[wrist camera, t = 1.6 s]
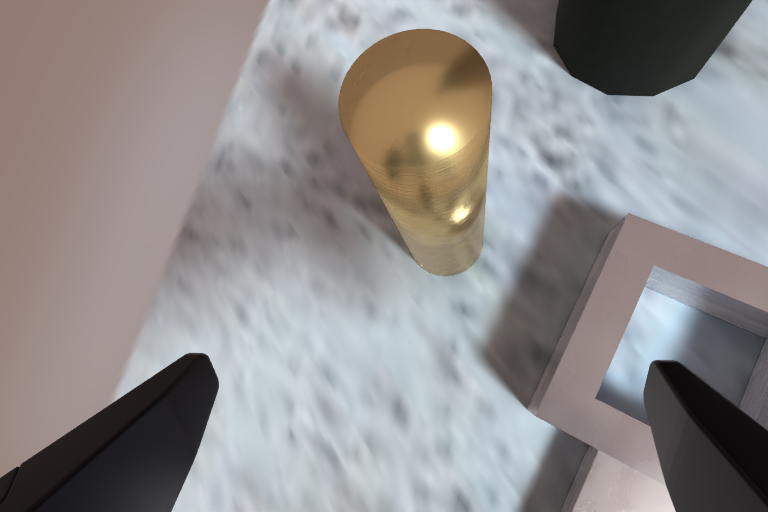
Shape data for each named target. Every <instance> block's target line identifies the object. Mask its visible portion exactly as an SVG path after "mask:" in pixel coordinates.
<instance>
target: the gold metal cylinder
mask: <svg viewBox="0 0 768 512" xmlns="http://www.w3.org/2000/svg"><path fill="white" fill-rule="evenodd" d="M338 106H339V116H340V120H341V124H342V127H343V129H344V131H345V133H346V135H347V137H348V139H349V141H350V142H351V144H352V146H353V148H354V150H355V152H356V153H357V155H358V157H359V159H360V161H361V162H362V164H363V166H364V168H365V170H366V172H367V173H368V175H369V177H370V179H371V181H372V182H373V184H374V186H375V188H376V190H377V192H378V193H379V195H380V197H381V199H382V201H383V203H384V204H385V206H386V208H387V210H388V212H389V213H390V215H391V217H392V219H393V221H394V223H395V224H396V226H397V228H398V230H399V232H400V234H401V235H402V237H403V239H404V241H405V243H406V244H407V246H408V248H409V250H410V252H411V254H412V255H413V257H414V259H415V261H416V262H417V263H418V264H419V265H420V266H421V267H422V268H423V269H424V270H426V271H428V272H429V273H432V274H435V275H439V276H452V275H457V274H460V273H462V272H464V271H466V270H467V269H469V268H470V267H471V266H472V265H473V264H474V263H475V262H476V261H477V259H478V257H479V256H480V253H481V251H482V247H483V237H484V221H485V204H486V188H487V171H488V155H489V139H490V122H491V106H492V82H491V76H490V73H489V70H488V67H487V65H486V63H485V61H484V60H483V58H482V57H481V55H480V54H479V53H478V52H477V51H476V50H475V49H474V48H473V47H472V46H471V45H470V44H469V43H467V42H466V41H465V40H463V39H461V38H459V37H457V36H455V35H453V34H450V33H448V32H444V31H440V30H433V29H414V30H407V31H403V32H399V33H396V34H393V35H390V36H388V37H386V38H384V39H382V40H380V41H378V42H377V43H375V44H373V45H372V46H371V47H369V48H368V49H367V50H366V51H364V52H363V53H362V54H361V55H360V56H359V57H358V58H357V60H356V61H355V62H354V63H353V65H352V66H351V68H350V69H349V71H348V72H347V74H346V76H345V78H344V81H343V83H342V86H341V90H340V95H339V105H338Z"/></svg>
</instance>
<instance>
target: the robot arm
mask: <svg viewBox="0 0 768 512" xmlns="http://www.w3.org/2000/svg"><path fill="white" fill-rule="evenodd" d="M218 388H219V381H218V377H217V375H216V373H215V370H214V368H213V366H212V363H211V361H210V359H209V357H208V356H207V355H206V354H204V353H188V354H186V355H184V356H182V357H181V358H179V359H178V360H176V361H175V362H173V363H172V364H170V365H169V366H167V367H166V368H165V369H163V370H162V371H160V372H159V373H157V374H156V375H154V376H153V377H151V378H150V379H148V380H146V381H145V382H143V383H142V384H140V385H139V386H137V387H136V388H134V389H133V390H131V391H130V392H128V393H127V394H125V395H124V396H122V397H121V398H119V399H118V400H116V401H115V402H113V403H112V404H110V405H109V406H107V407H106V408H104V409H103V410H102V411H100V412H98V413H97V414H96V415H94V416H92V417H91V418H89V419H88V420H86V421H85V422H83V423H82V424H80V425H79V426H77V427H76V428H74V429H73V430H71V431H70V432H68V433H67V434H66V435H64V436H63V437H61V438H60V439H58V440H56V441H55V442H53V443H52V444H51V445H49V446H47V447H46V448H44V449H43V450H42V451H40V452H39V453H37V454H35V455H34V456H32V457H31V458H29V459H28V460H27V461H25V462H23V463H22V464H21V466H20V467H16V468H14V469H13V470H11V471H10V472H8V473H7V474H5V475H4V476H2V477H1V478H0V512H171V511H172V509H173V507H174V504H175V502H176V500H177V498H178V495H179V493H180V491H181V489H182V486H183V484H184V482H185V480H186V477H187V475H188V473H189V471H190V469H191V466H192V464H193V462H194V459H195V457H196V454H197V452H198V449H199V446H200V443H201V440H202V437H203V434H204V431H205V428H206V425H207V422H208V419H209V416H210V413H211V410H212V407H213V404H214V401H215V398H216V395H217V392H218ZM644 404H645V408H646V412H647V416H648V420H649V423H650V427H651V431H652V435H653V439H654V443H655V447H656V451H657V454H658V458H659V462H660V466H661V470H662V473H663V477H664V480H665V484H666V487H667V490H668V492H669V495H670V498H671V501H672V503H673V506H674V508H675V511H676V512H768V430H767V429H766V428H764V427H763V426H762V425H761V424H759V423H758V422H757V421H755V420H754V419H753V418H752V417H750V416H749V415H748V414H746V413H745V412H744V411H742V410H741V409H740V408H739V407H737V406H736V405H735V404H733V403H732V402H731V401H729V400H728V399H727V398H726V397H724V396H723V395H722V394H720V393H719V392H718V391H717V390H715V389H714V388H713V387H711V386H710V385H709V384H707V383H706V382H705V381H704V380H702V379H701V378H700V377H698V376H697V375H696V374H694V373H693V372H692V371H691V370H689V369H688V368H687V367H685V366H684V365H683V364H681V363H680V362H678V361H674V360H655V361H653V362H652V363H651V364H650V367H649V371H648V375H647V379H646V384H645V388H644Z"/></svg>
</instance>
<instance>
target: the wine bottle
mask: <svg viewBox="0 0 768 512" xmlns="http://www.w3.org/2000/svg"><path fill="white" fill-rule="evenodd" d="M751 2H752V0H559V5H558V9H557V14H556V25H555V36H554V47H555V49H556V50H557V52H558V54H559V55H560V57H561V59H562V60H563V62H564V64H565V65H566V67H567V69H568V70H569V72H570V74H571V75H572V76H573V77H575V78H577V79H579V80H581V81H582V82H584V83H586V84H588V85H590V86H592V87H594V88H596V89H598V90H600V91H602V92H604V93H605V94H607V95H629V96H655V95H657V94H659V93H662V92H664V91H666V90H669V89H671V88H673V87H676V86H678V85H680V84H683V83H685V82H687V81H690V80H692V79H694V78H695V77H696V75H697V74H698V73H699V71H700V70H701V69H702V67H703V66H704V65H705V63H706V62H707V61H708V60H709V58H710V57H711V56H712V54H713V53H714V52H715V50H716V49H717V48H718V46H719V45H720V44H721V42H722V41H723V40H724V38H725V37H726V36H727V34H728V33H729V31H730V30H731V29H732V27H733V26H734V25H735V23H736V22H737V21H738V19H739V18H740V16H741V15H742V14H743V12H744V11H745V10H746V8H747V7H748V6H749V4H750V3H751Z"/></svg>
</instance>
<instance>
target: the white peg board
mask: <svg viewBox="0 0 768 512" xmlns="http://www.w3.org/2000/svg"><path fill="white" fill-rule="evenodd" d="M644 287H647V288H649V289H651V290H654V291H656V292H658V293H661V294H663V295H665V296H668V297H670V298H673V299H675V300H677V301H680V302H682V303H684V304H687V305H689V306H691V307H694V308H696V309H698V310H701V311H703V312H705V313H708V314H710V315H712V316H715V317H717V318H719V319H722V320H724V321H726V322H729V323H731V324H733V325H736V326H738V327H740V328H743V329H745V330H747V331H750V332H752V333H754V334H757V335H759V336H762V337H764V338H766V340H765V342H764V345H763V347H762V350H761V352H760V355H759V357H758V360H757V362H756V365H755V367H754V370H753V372H752V375H751V377H750V380H749V382H748V385H747V387H746V390H745V392H744V395H743V398H742V400H741V403H740V405H739V408H740V409H741V410H742V411H744V412H745V413H746V414H748V415H749V416H750V417H752V418H753V419H754V420H755V421H757V422H758V423H759V424H761V425H762V426H763V427H764V428H766V429H767V430H768V267H766V266H763V265H761V264H758V263H756V262H753V261H751V260H748V259H745V258H743V257H740V256H738V255H735V254H732V253H730V252H727V251H725V250H722V249H720V248H717V247H714V246H712V245H709V244H707V243H704V242H702V241H699V240H696V239H694V238H691V237H689V236H686V235H683V234H681V233H678V232H676V231H673V230H671V229H668V228H665V227H663V226H660V225H658V224H655V223H652V222H650V221H647V220H645V219H642V218H640V217H637V216H634V215H632V214H629V213H628V214H627V215H626V216H625V217H624V218H623V219H622V220H621V221H620V222H619V223H618V224H617V225H616V226H615V227H614V228H613V229H612V230H611V231H610V233H609V234H608V235H607V237H606V239H605V241H604V243H603V246H602V248H601V250H600V252H599V254H598V256H597V259H596V261H595V263H594V265H593V267H592V269H591V272H590V274H589V276H588V278H587V280H586V282H585V285H584V287H583V289H582V291H581V293H580V295H579V298H578V300H577V302H576V304H575V306H574V308H573V311H572V313H571V315H570V317H569V319H568V321H567V324H566V326H565V328H564V330H563V332H562V334H561V336H560V339H559V341H558V343H557V345H556V347H555V349H554V352H553V354H552V356H551V358H550V360H549V362H548V365H547V367H546V369H545V371H544V373H543V375H542V378H541V380H540V382H539V384H538V386H537V388H536V391H535V393H534V395H533V397H532V399H531V401H530V404H529V406H528V408H527V410H528V411H530V412H531V413H532V414H533V415H535V416H536V417H538V418H540V419H542V420H544V421H546V422H548V423H549V424H551V425H553V426H555V427H557V428H559V429H561V430H562V431H564V432H566V433H568V434H570V435H572V436H574V437H575V438H577V439H579V440H581V441H583V442H585V443H587V444H588V445H589V447H588V449H587V452H586V454H585V456H584V458H583V461H582V463H581V465H580V468H579V470H578V472H577V474H576V477H575V479H574V481H573V483H572V486H571V488H570V490H569V493H568V495H567V497H566V499H565V502H564V504H563V506H562V509H561V511H560V512H676V511H675V508H674V506H673V503H672V501H671V498H670V495H669V492H668V490H667V487H666V484H665V480H664V477H663V473H662V470H661V466H660V462H659V458H658V454H657V451H656V447H655V443H654V439H653V435H652V431H651V427H650V426H648V425H646V424H644V423H642V422H640V421H639V420H637V419H635V418H633V417H631V416H629V415H627V414H625V413H623V412H621V411H619V410H617V409H615V408H613V407H611V406H609V405H607V404H605V403H603V402H601V401H599V400H597V399H595V397H596V395H597V393H598V390H599V388H600V386H601V384H602V381H603V379H604V377H605V375H606V372H607V370H608V368H609V366H610V363H611V361H612V359H613V357H614V354H615V352H616V350H617V348H618V345H619V343H620V341H621V339H622V336H623V334H624V332H625V329H626V327H627V325H628V323H629V320H630V318H631V316H632V314H633V311H634V309H635V307H636V305H637V302H638V300H639V298H640V296H641V293H642V291H643V289H644Z"/></svg>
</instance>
